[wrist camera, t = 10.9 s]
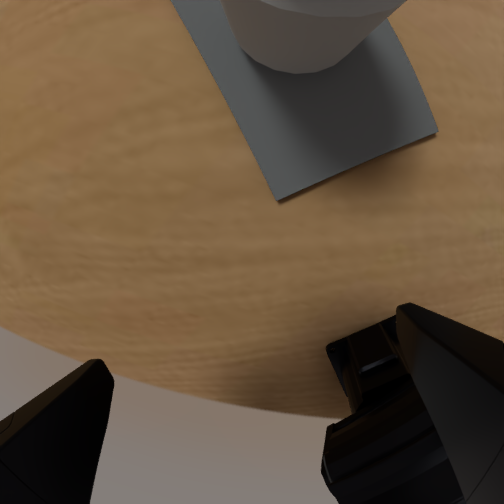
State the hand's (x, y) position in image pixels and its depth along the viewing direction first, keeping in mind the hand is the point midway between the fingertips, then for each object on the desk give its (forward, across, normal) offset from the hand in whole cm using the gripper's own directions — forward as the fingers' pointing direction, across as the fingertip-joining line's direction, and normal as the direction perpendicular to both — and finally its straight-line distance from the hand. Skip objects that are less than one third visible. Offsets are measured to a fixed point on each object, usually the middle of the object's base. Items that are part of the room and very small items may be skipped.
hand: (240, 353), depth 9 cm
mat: (+13, -6, -10) cm, 18 cm away
